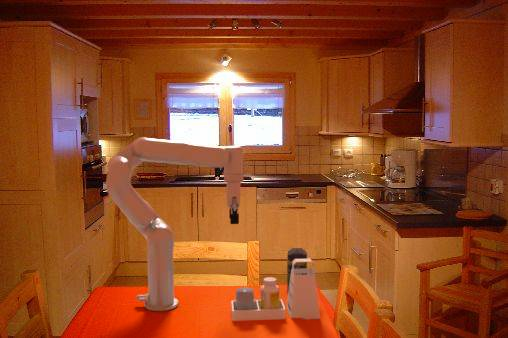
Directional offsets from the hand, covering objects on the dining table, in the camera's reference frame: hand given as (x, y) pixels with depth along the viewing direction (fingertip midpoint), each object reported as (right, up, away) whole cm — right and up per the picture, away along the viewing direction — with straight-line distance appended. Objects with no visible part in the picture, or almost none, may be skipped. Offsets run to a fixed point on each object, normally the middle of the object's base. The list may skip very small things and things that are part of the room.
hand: (234, 221), depth 205 cm
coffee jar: (+25, -30, +5) cm, 39 cm away
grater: (+26, -33, -14) cm, 44 cm away
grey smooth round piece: (+5, -32, -17) cm, 36 cm away
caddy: (+9, -33, -17) cm, 38 cm away
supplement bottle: (+14, -32, -16) cm, 38 cm away
